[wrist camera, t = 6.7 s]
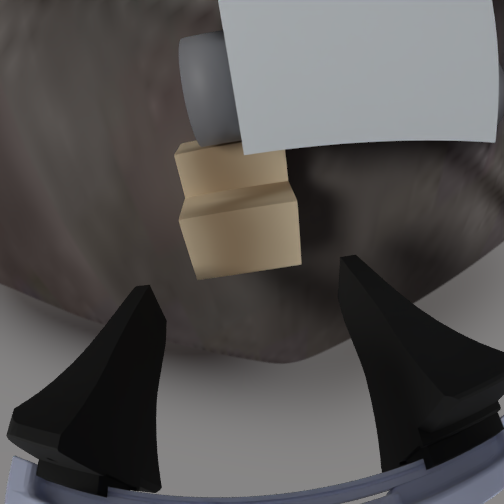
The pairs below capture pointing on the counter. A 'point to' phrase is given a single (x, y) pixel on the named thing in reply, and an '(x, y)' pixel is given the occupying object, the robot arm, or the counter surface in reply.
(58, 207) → the counter surface
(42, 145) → the counter surface
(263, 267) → the block
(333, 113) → the trolley
